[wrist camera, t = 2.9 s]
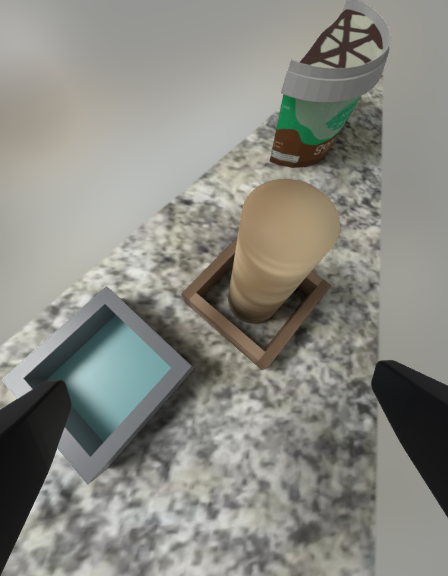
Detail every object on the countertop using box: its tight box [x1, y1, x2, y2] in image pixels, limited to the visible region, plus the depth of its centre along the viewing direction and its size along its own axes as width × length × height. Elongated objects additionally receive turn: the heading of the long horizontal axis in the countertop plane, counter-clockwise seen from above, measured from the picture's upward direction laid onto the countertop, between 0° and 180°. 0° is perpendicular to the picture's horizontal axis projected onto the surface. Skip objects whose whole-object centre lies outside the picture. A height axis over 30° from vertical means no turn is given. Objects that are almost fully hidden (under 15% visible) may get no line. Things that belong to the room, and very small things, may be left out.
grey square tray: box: [2, 286, 195, 484], centre depth 19 cm, size 9×9×3 cm
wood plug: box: [228, 179, 340, 323], centre depth 17 cm, size 4×4×12 cm
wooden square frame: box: [182, 237, 331, 370], centre depth 22 cm, size 9×9×2 cm
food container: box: [270, 0, 391, 168], centre depth 25 cm, size 12×6×10 cm, turn 148°
